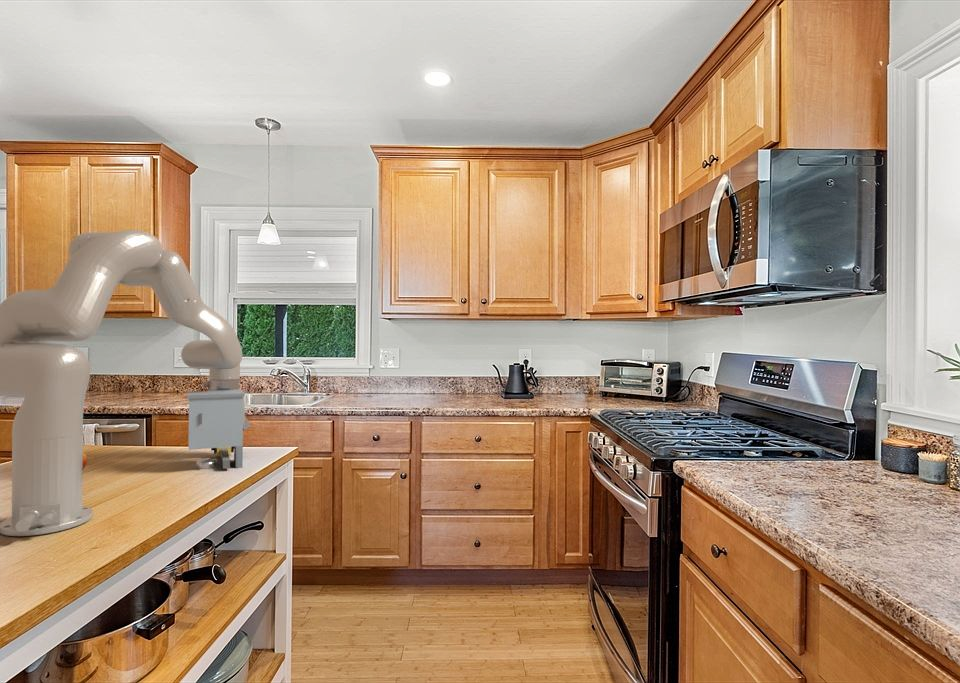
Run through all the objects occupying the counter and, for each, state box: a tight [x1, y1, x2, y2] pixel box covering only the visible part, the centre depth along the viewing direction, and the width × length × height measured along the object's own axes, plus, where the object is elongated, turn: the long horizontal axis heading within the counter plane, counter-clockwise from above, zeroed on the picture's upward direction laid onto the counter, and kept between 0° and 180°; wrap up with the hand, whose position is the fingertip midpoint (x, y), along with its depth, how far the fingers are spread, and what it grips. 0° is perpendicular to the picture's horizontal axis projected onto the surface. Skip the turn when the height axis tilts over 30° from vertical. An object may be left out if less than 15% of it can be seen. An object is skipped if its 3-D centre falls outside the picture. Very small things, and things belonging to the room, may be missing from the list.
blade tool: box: [215, 447, 232, 469], centre depth 136 cm, size 19×4×7 cm, turn 28°
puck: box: [196, 457, 218, 470], centre depth 131 cm, size 4×4×2 cm
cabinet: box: [187, 389, 246, 469], centre depth 132 cm, size 9×13×19 cm
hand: (223, 451), depth 143 cm, fingers closed on blade tool, 3 cm apart
